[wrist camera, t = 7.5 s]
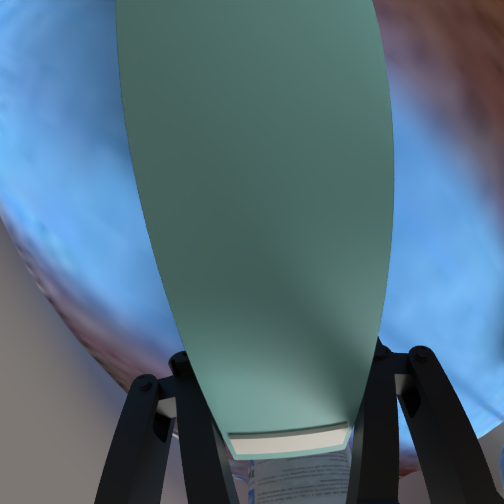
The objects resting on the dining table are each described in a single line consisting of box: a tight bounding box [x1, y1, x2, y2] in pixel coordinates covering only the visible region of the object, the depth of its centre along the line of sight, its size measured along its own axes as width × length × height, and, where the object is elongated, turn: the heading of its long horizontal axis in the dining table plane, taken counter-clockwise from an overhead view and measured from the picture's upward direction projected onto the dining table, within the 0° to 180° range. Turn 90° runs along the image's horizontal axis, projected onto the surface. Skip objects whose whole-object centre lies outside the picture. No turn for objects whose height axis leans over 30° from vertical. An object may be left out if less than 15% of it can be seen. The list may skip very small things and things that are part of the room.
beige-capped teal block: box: [116, 0, 394, 460], centre depth 11 cm, size 5×19×11 cm, turn 7°
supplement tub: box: [248, 443, 352, 504], centre depth 20 cm, size 10×10×15 cm
